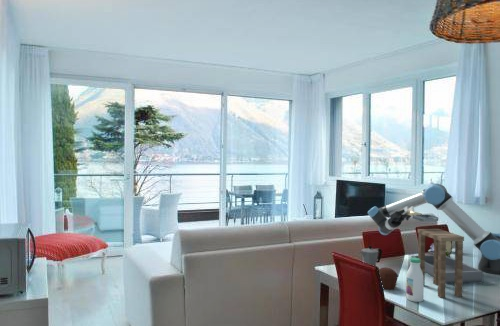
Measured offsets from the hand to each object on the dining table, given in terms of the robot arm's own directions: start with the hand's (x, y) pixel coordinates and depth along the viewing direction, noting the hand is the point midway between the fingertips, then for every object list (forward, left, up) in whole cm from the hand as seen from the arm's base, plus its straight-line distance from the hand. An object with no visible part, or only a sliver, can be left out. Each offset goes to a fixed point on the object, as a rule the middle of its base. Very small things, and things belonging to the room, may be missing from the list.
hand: (410, 208), depth 227 cm
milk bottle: (+8, +41, -39) cm, 57 cm away
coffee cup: (-40, -60, -39) cm, 82 cm away
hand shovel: (-2, +6, -4) cm, 7 cm away
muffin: (+18, +25, -39) cm, 50 cm away
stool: (-8, +26, -39) cm, 48 cm away
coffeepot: (+23, +7, -39) cm, 46 cm away
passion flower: (-31, -46, -39) cm, 68 cm away
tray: (-21, -5, -39) cm, 44 cm away
